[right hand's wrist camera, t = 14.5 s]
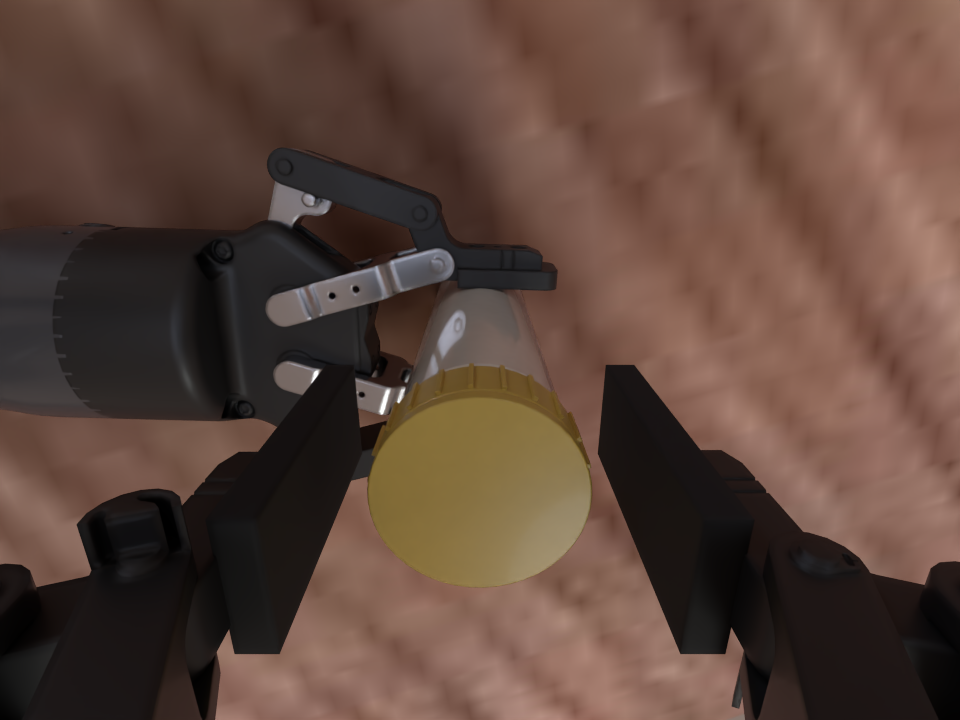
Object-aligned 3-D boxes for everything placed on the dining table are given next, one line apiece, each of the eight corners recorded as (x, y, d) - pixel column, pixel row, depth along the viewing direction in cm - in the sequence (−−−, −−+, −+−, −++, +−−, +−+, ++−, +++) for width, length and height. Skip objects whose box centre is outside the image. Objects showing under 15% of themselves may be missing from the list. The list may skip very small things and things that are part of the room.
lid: (347, 490, 12) (327, 538, 11) (435, 324, 11) (427, 351, 9) (516, 564, 13) (521, 620, 12) (619, 418, 12) (642, 458, 10)
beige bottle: (509, 246, 26) (554, 367, 10) (530, 325, 27) (597, 538, 12) (427, 270, 26) (350, 421, 11) (452, 347, 28) (416, 579, 12)
